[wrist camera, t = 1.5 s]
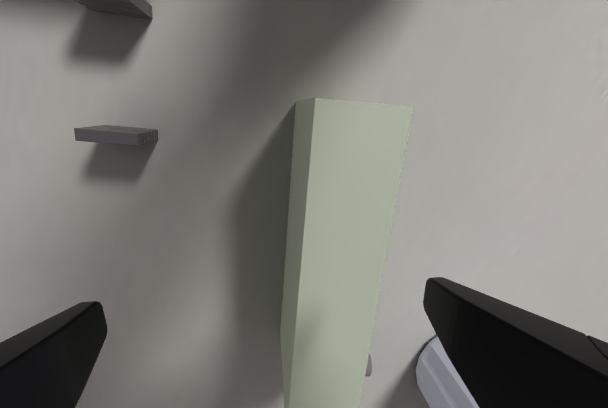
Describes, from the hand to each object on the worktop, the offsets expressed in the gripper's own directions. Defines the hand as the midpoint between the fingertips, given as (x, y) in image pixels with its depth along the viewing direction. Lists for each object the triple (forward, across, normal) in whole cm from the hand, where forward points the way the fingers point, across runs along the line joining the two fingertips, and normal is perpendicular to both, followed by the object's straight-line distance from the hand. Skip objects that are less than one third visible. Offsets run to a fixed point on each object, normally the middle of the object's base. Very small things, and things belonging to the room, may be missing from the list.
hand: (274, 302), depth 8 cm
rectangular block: (+13, -3, +3) cm, 14 cm away
